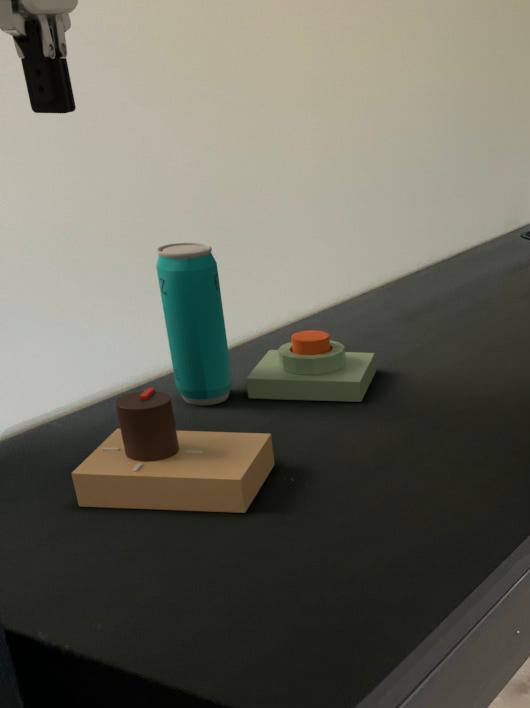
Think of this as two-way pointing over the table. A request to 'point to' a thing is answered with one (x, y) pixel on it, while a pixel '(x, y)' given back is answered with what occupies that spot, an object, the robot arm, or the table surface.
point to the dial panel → (178, 474)
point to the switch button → (310, 342)
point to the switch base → (312, 375)
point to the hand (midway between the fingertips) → (54, 111)
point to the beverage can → (194, 322)
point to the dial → (147, 425)
